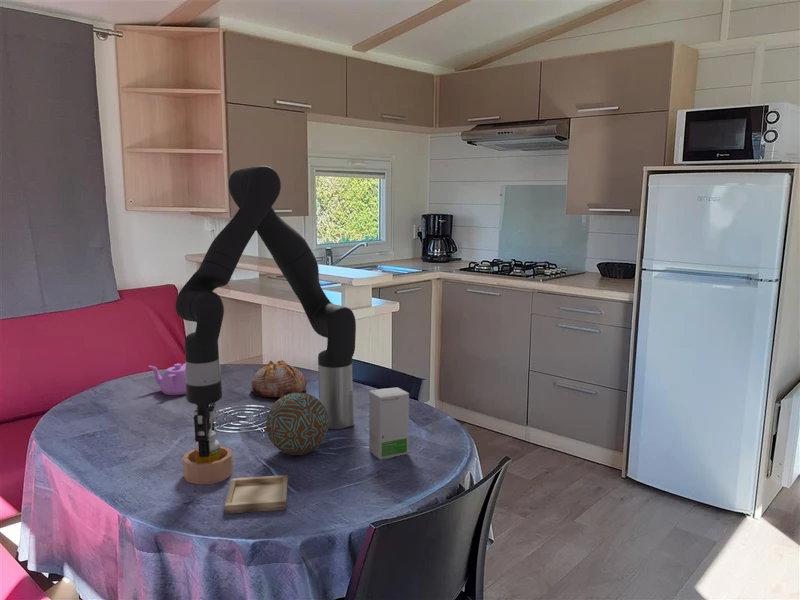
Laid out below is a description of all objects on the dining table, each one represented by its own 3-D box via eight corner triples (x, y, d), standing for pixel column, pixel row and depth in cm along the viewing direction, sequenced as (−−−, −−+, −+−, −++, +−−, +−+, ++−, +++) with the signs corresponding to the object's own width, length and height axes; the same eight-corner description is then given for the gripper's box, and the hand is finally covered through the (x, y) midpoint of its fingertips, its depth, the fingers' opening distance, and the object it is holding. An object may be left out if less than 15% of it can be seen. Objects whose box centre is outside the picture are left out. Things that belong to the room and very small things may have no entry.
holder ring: (235, 462, 148) (234, 444, 148) (229, 482, 138) (228, 463, 137) (189, 465, 147) (188, 446, 146) (180, 485, 137) (178, 466, 136)
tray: (288, 482, 138) (287, 474, 138) (286, 509, 127) (285, 501, 126) (232, 486, 137) (231, 478, 136) (224, 513, 125) (224, 505, 125)
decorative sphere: (339, 456, 152) (338, 397, 149) (281, 471, 144) (278, 408, 141) (313, 436, 164) (312, 381, 162) (258, 448, 156) (256, 390, 154)
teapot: (206, 391, 201) (205, 364, 199) (163, 400, 192) (161, 372, 191) (192, 382, 210) (190, 356, 208) (150, 390, 201) (148, 364, 200)
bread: (281, 382, 214) (281, 353, 213) (317, 394, 201) (318, 364, 199) (239, 390, 202) (239, 359, 201) (275, 404, 189) (275, 371, 188)
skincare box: (379, 460, 149) (378, 398, 147) (367, 450, 155) (367, 390, 152) (410, 454, 153) (410, 392, 151) (397, 444, 159) (397, 385, 156)
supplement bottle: (213, 480, 139) (211, 438, 138) (191, 477, 140) (189, 436, 139) (225, 469, 145) (223, 429, 143) (203, 467, 146) (201, 427, 144)
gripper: (216, 388, 132) (220, 461, 135) (225, 369, 146) (228, 436, 149) (179, 390, 131) (184, 463, 134) (191, 370, 145) (195, 438, 148)
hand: (207, 449), depth 142 cm, fingers open, 7 cm apart
